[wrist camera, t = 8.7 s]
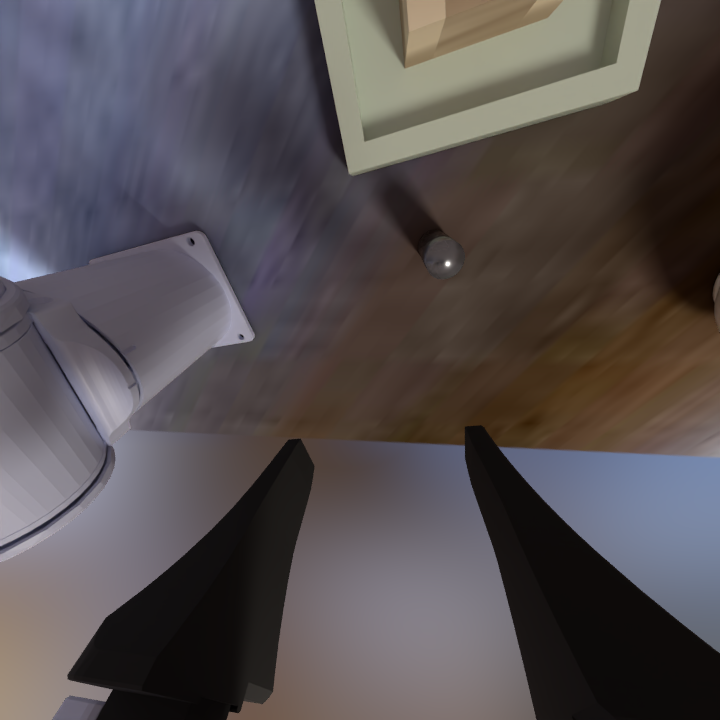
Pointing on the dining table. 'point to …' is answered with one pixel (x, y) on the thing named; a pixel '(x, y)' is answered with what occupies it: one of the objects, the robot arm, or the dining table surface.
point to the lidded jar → (717, 301)
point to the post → (441, 254)
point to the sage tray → (474, 76)
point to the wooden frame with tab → (462, 23)
